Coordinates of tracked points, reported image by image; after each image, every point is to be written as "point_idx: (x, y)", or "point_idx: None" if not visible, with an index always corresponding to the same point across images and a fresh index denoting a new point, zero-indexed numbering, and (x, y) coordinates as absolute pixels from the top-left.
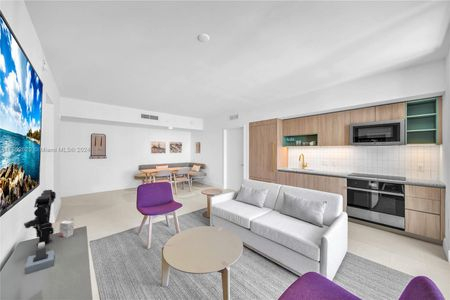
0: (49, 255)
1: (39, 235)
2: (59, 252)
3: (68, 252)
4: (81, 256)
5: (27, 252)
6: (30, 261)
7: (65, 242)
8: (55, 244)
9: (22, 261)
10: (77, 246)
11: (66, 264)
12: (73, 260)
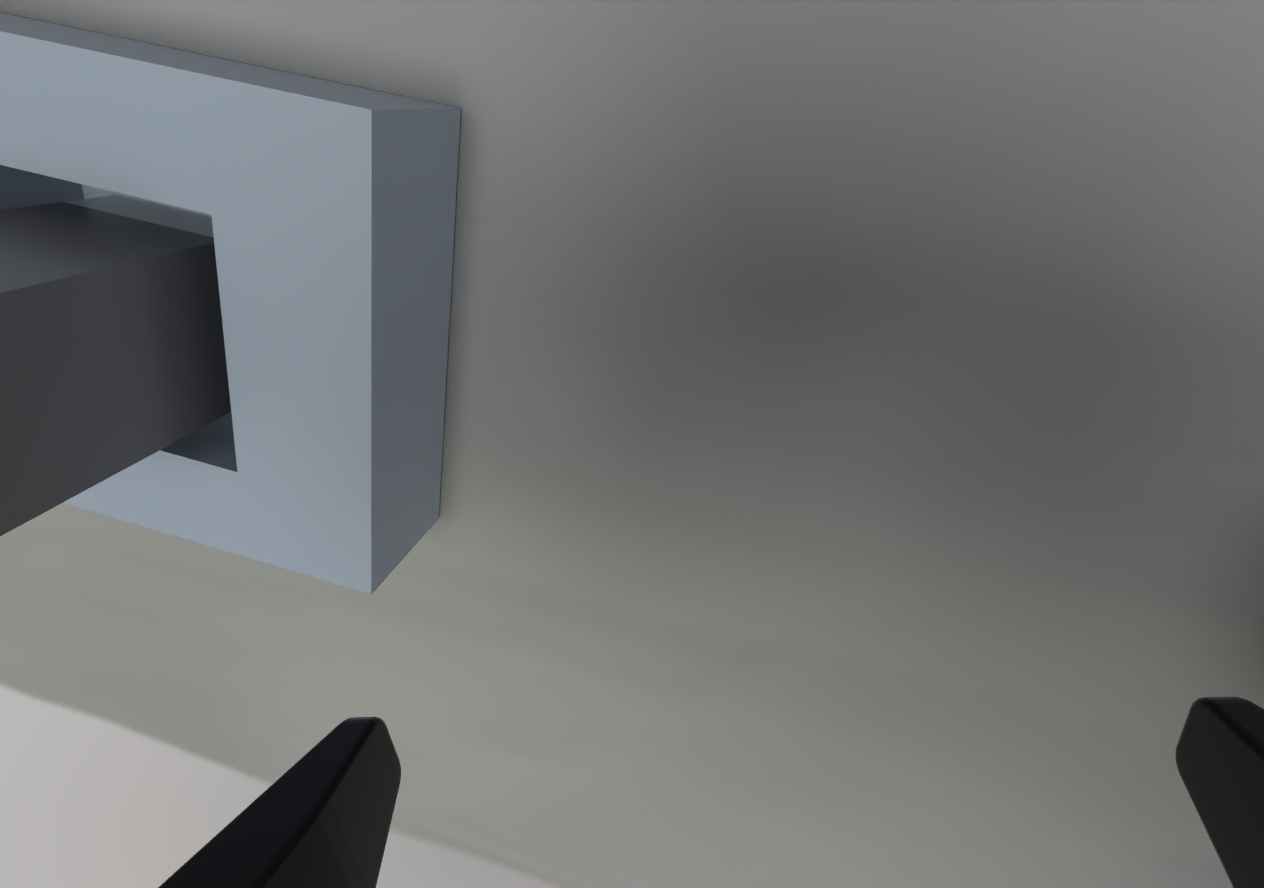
0: (138, 464)
1: (1207, 781)
2: (509, 605)
3: (397, 674)
4: (145, 705)
5: (1228, 165)
6: (26, 120)
7: (927, 807)
8: (1028, 692)
9: (647, 2)
10: (533, 812)
11: (11, 530)
12: (82, 616)
